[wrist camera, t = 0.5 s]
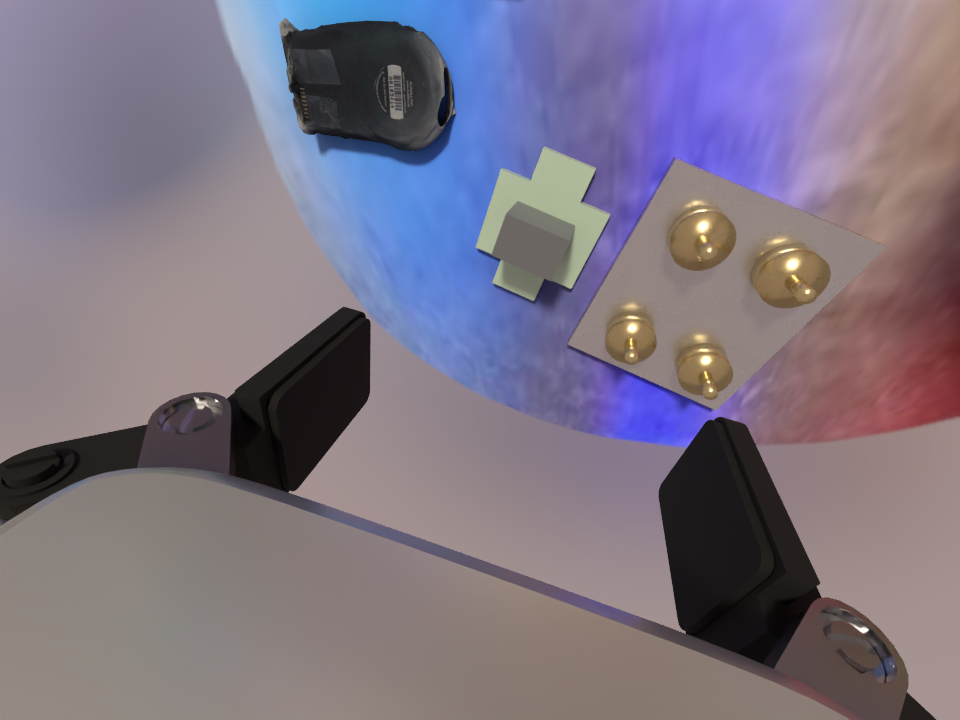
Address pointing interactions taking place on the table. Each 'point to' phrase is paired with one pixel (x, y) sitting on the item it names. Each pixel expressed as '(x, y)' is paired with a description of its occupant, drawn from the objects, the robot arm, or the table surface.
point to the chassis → (714, 284)
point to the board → (555, 200)
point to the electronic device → (367, 82)
